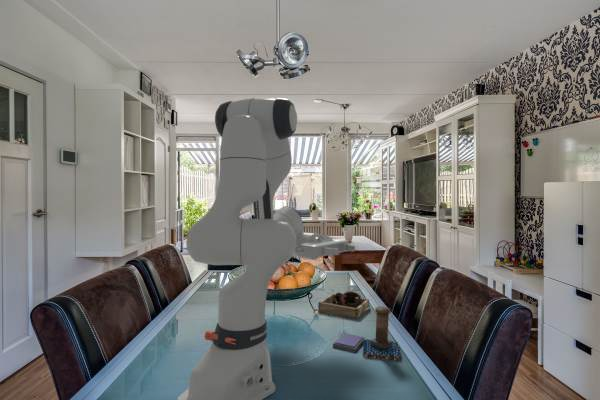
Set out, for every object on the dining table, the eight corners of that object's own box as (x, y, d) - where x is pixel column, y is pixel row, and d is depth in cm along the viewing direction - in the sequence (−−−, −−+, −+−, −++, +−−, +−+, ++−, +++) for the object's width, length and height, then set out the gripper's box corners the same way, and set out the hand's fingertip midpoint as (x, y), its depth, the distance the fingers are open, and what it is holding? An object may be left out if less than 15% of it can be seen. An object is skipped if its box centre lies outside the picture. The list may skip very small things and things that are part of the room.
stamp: (383, 351, 95) (385, 312, 95) (370, 345, 98) (371, 308, 98) (392, 346, 98) (393, 309, 98) (379, 341, 102) (380, 305, 101)
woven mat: (402, 363, 92) (402, 356, 92) (362, 359, 94) (362, 352, 94) (399, 347, 102) (399, 340, 102) (363, 344, 104) (363, 337, 104)
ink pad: (355, 352, 97) (355, 347, 97) (332, 346, 101) (332, 342, 101) (365, 340, 105) (365, 336, 105) (343, 336, 109) (343, 332, 109)
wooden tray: (357, 318, 125) (357, 309, 125) (318, 311, 132) (318, 302, 132) (369, 308, 137) (369, 299, 137) (332, 302, 145) (332, 293, 145)
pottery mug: (365, 309, 138) (366, 294, 133) (355, 325, 131) (356, 310, 127) (339, 297, 144) (339, 282, 139) (327, 312, 137) (328, 297, 133)
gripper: (291, 239, 106) (328, 243, 98) (327, 234, 122) (362, 237, 114) (291, 259, 106) (327, 265, 98) (327, 251, 122) (362, 256, 114)
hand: (346, 250), depth 106 cm, fingers open, 8 cm apart
